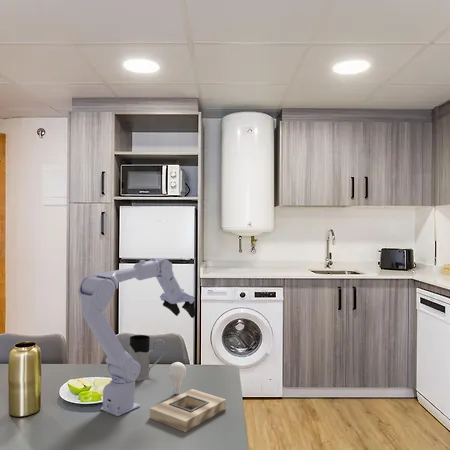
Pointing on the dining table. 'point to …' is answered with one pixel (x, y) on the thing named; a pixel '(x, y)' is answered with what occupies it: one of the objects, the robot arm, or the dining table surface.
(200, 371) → the dining table surface
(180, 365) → the lightbulb
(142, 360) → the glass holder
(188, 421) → the socket plate
